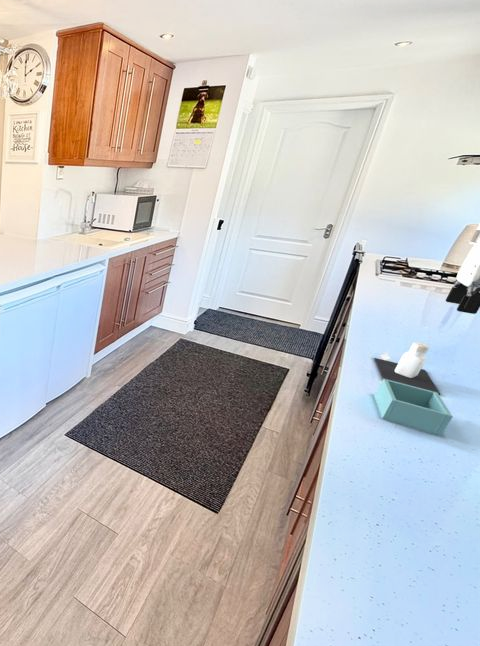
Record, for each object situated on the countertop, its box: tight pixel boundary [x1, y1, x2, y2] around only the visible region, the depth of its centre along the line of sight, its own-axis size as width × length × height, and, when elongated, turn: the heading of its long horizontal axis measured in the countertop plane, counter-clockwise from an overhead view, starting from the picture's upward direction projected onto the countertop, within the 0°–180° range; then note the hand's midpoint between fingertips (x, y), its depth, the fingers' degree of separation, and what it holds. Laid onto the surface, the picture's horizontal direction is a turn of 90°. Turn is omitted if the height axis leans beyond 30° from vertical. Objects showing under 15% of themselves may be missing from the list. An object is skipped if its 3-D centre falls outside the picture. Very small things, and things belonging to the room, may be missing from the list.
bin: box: [373, 379, 453, 437], centre depth 95 cm, size 10×13×5 cm
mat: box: [373, 357, 441, 396], centre depth 115 cm, size 11×17×1 cm, turn 143°
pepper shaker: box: [395, 341, 430, 378], centre depth 113 cm, size 4×4×10 cm
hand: (459, 307), depth 102 cm, fingers open, 9 cm apart
